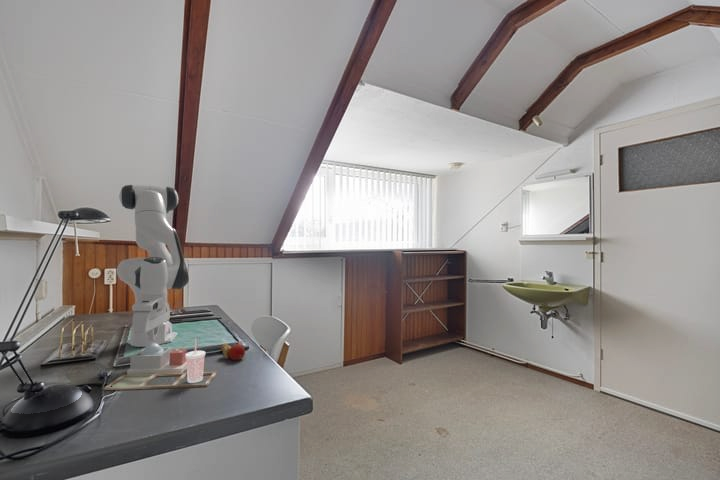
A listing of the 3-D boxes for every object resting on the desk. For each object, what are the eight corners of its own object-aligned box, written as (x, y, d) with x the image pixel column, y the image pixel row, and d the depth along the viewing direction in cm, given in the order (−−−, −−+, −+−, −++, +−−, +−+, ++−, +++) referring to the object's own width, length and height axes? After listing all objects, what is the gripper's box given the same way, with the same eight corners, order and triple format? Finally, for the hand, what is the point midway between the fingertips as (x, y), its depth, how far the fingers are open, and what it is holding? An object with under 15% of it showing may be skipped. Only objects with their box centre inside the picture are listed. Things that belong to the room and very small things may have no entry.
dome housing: (144, 362, 130) (145, 346, 130) (194, 361, 132) (194, 345, 132) (127, 374, 118) (127, 357, 118) (181, 372, 120) (181, 355, 120)
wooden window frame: (123, 376, 117) (123, 374, 117) (217, 373, 120) (217, 371, 120) (102, 390, 106) (102, 388, 106) (206, 386, 109) (206, 384, 109)
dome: (147, 358, 128) (147, 340, 128) (166, 358, 129) (167, 340, 129) (137, 365, 121) (137, 346, 121) (158, 365, 122) (158, 345, 122)
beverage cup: (184, 385, 110) (184, 341, 110) (185, 378, 116) (186, 336, 116) (205, 382, 112) (205, 339, 113) (205, 375, 118) (205, 335, 118)
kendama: (213, 355, 143) (228, 361, 129) (215, 340, 144) (230, 344, 131) (231, 355, 148) (248, 360, 134) (233, 340, 149) (250, 344, 135)
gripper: (157, 296, 135) (157, 331, 135) (129, 307, 115) (128, 348, 115) (174, 296, 136) (173, 331, 136) (148, 307, 115) (148, 348, 116)
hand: (152, 339), depth 125 cm, fingers closed
